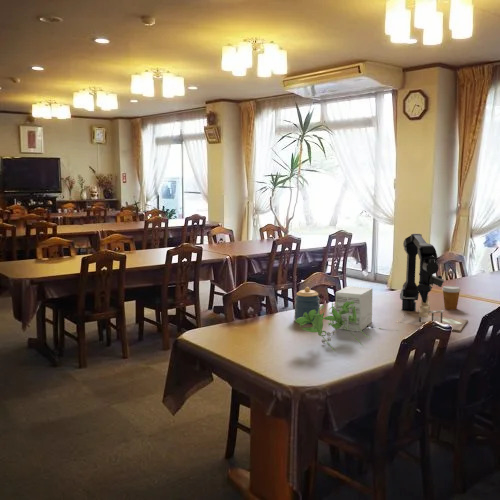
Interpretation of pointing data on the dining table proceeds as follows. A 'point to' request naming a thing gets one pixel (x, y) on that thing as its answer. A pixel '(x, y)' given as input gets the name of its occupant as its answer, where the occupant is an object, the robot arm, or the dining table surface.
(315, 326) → the plant cuttings
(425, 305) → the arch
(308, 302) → the canister
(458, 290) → the disposable coffee cup
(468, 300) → the dining table surface
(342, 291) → the supplement box
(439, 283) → the robot arm
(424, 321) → the wire board
